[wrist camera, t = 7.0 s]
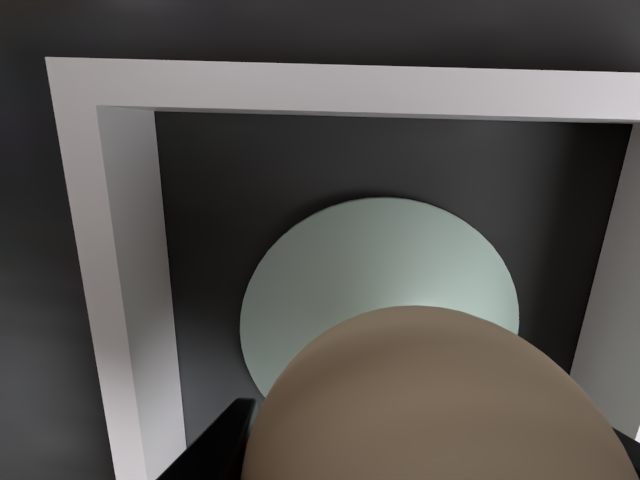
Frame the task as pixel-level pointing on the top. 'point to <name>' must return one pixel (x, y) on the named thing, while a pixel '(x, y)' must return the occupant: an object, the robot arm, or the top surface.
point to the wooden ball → (429, 407)
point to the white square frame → (316, 227)
